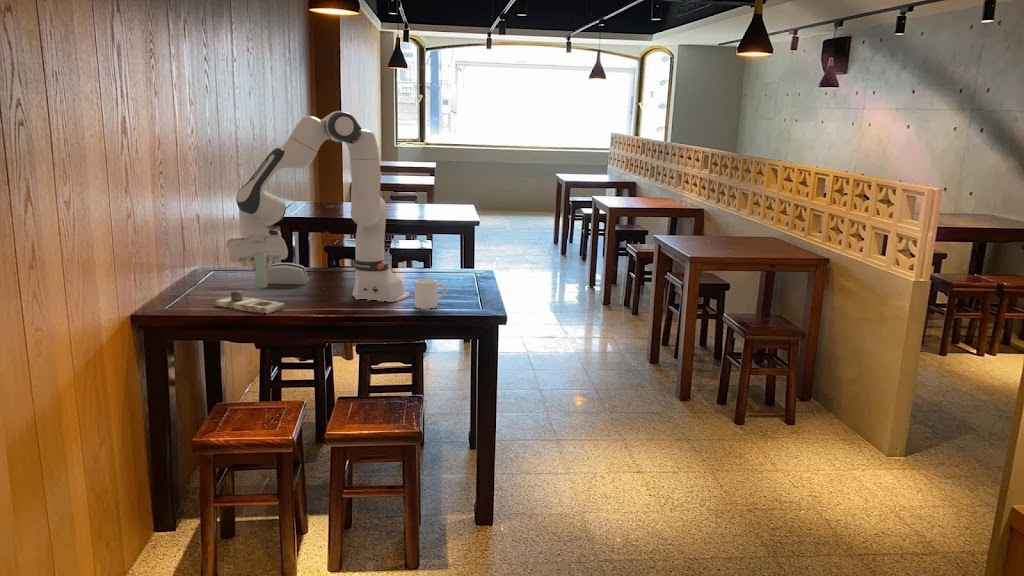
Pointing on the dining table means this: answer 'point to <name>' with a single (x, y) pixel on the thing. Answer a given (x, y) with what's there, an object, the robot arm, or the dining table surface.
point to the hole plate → (249, 303)
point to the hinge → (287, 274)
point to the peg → (260, 269)
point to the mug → (427, 293)
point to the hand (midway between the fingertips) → (261, 269)
